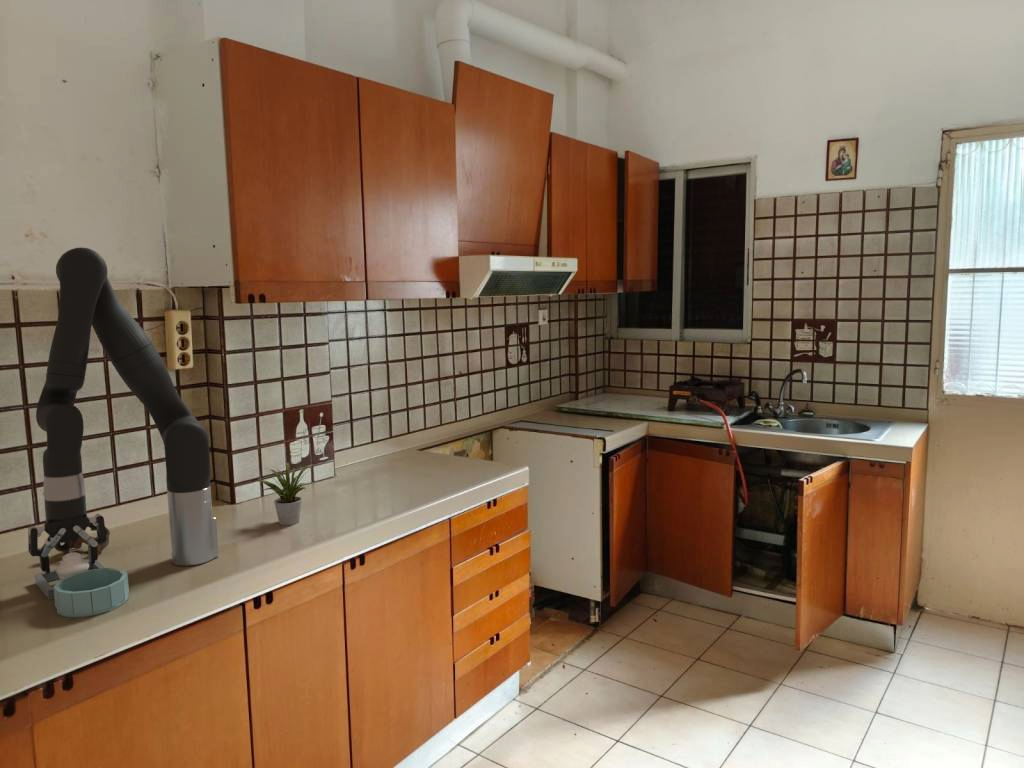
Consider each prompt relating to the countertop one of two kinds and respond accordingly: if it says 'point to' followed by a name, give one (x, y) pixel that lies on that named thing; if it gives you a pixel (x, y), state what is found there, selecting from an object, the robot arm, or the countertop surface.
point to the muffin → (71, 565)
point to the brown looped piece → (78, 543)
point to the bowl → (91, 592)
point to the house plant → (287, 496)
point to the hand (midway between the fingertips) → (70, 567)
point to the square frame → (44, 578)
